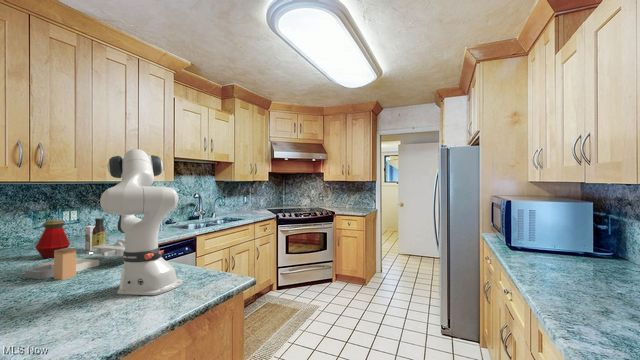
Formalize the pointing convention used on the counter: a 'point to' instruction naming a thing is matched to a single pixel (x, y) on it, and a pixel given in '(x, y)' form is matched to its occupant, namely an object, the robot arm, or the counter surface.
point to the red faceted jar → (52, 239)
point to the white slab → (48, 268)
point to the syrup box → (88, 237)
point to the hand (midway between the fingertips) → (95, 253)
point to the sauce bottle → (98, 233)
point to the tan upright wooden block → (64, 263)
